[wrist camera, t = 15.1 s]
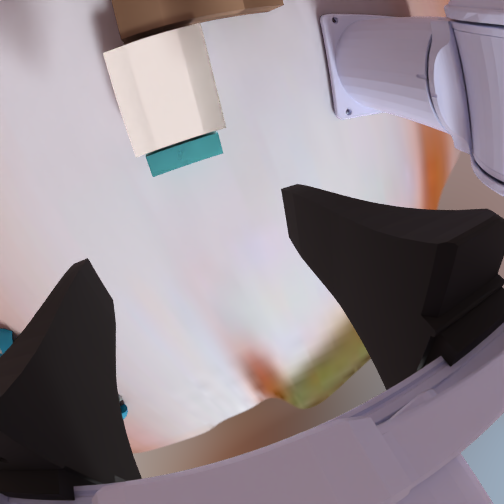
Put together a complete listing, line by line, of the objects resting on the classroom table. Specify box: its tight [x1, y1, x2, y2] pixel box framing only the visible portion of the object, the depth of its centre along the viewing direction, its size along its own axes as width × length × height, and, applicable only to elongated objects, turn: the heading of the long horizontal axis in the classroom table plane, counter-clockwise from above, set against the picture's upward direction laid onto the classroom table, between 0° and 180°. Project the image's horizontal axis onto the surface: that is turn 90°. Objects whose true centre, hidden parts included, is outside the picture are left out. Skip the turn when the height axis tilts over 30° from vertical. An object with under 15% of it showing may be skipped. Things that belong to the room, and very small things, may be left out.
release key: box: [146, 131, 223, 177], centre depth 15 cm, size 4×7×3 cm, turn 11°
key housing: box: [103, 23, 226, 157], centre depth 15 cm, size 5×6×3 cm
